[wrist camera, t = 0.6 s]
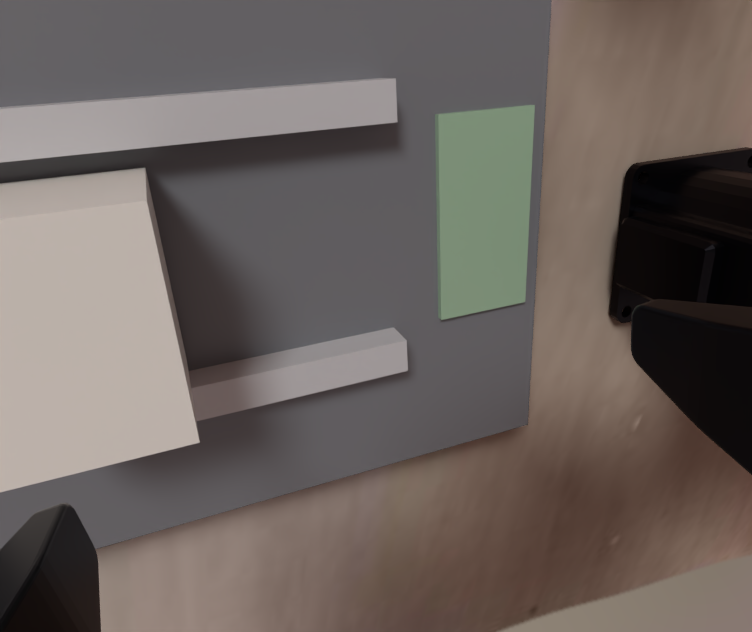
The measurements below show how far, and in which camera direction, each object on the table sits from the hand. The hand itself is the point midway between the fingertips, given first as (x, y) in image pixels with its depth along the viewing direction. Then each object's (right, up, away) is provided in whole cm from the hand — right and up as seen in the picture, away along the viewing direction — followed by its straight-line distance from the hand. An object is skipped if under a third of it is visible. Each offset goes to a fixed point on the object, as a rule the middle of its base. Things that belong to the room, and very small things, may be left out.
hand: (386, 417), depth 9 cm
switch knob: (-7, +2, +5) cm, 9 cm away
